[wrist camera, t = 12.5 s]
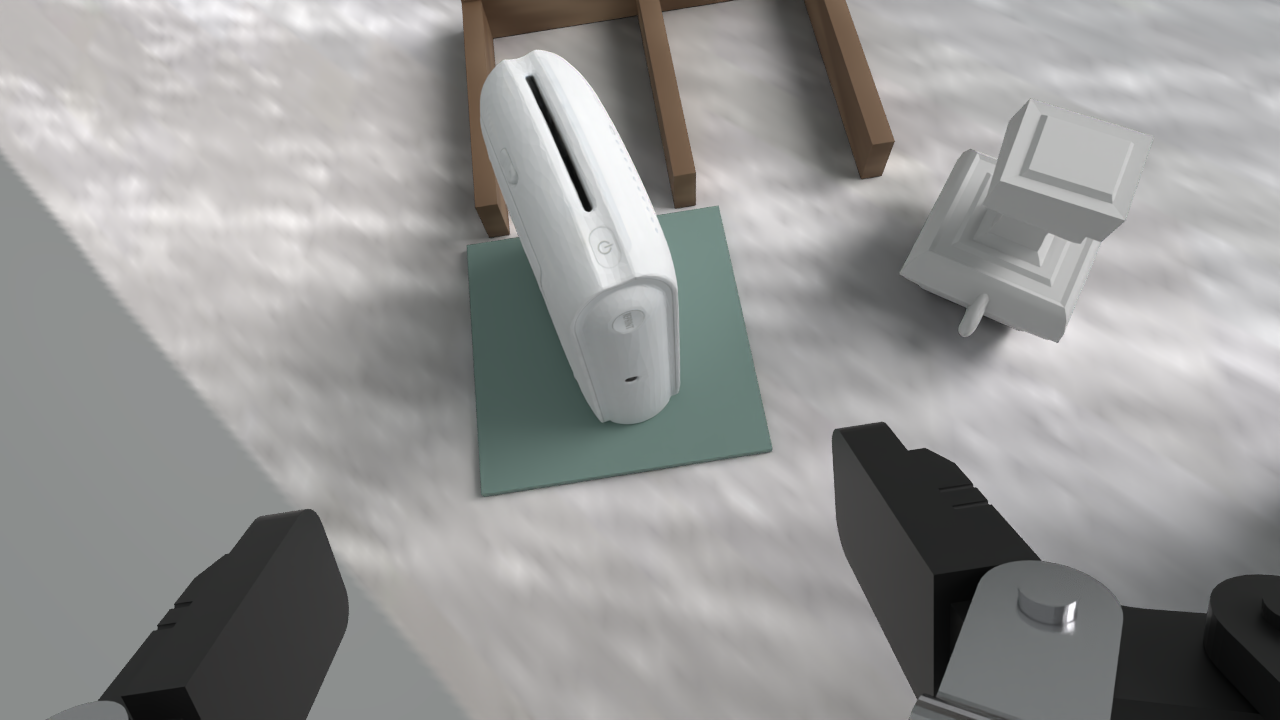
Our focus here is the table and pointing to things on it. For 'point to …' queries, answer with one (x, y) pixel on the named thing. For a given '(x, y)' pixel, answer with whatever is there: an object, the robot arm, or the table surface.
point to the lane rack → (665, 82)
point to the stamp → (1029, 219)
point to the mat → (551, 397)
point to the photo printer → (586, 233)
